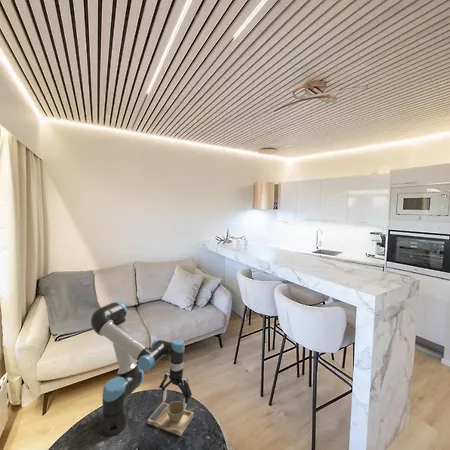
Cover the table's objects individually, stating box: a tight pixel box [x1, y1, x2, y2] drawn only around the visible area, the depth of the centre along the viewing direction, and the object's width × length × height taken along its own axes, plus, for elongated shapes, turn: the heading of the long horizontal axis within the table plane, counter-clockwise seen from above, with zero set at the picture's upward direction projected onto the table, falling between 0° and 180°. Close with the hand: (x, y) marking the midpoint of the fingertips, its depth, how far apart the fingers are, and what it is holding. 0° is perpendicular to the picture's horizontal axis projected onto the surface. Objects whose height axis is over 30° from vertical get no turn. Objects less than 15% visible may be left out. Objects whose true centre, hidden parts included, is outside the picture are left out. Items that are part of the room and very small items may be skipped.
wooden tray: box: [147, 401, 194, 437], centre depth 142 cm, size 22×14×3 cm
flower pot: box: [167, 400, 185, 423], centre depth 141 cm, size 10×10×7 cm
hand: (174, 404), depth 141 cm, fingers open, 13 cm apart
